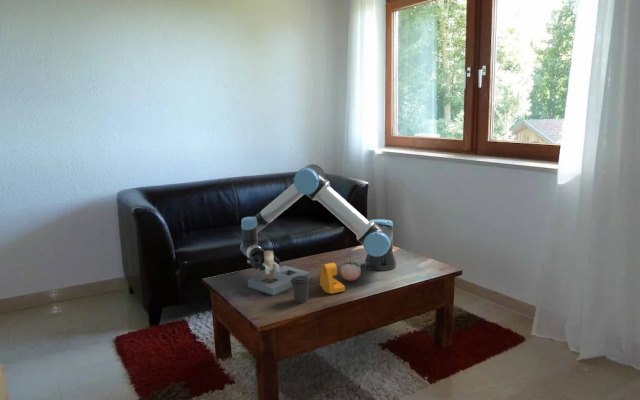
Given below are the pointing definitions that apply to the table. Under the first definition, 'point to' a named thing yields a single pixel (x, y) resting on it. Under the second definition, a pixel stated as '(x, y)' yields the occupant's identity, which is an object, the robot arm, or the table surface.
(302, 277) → the coffee cup
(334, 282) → the bracket
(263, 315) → the table surface
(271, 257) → the maple leg
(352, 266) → the decorative fruit
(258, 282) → the stool seat
